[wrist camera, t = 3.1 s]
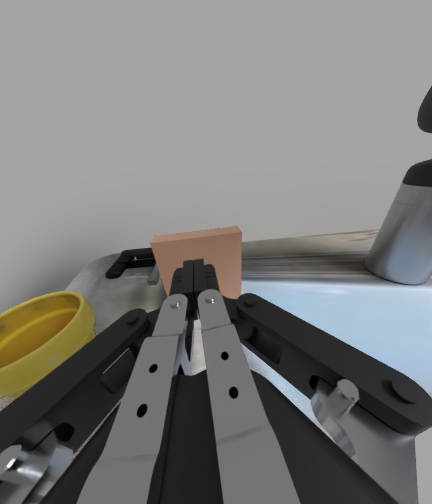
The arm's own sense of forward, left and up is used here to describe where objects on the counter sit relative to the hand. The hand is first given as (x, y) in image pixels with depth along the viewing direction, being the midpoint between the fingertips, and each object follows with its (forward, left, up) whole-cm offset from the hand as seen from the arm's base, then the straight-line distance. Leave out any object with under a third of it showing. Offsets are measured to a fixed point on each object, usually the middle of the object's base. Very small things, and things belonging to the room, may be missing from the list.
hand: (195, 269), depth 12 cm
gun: (+14, -27, -17) cm, 35 cm away
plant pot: (+19, -3, -16) cm, 25 cm away
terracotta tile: (0, -10, -15) cm, 18 cm away
